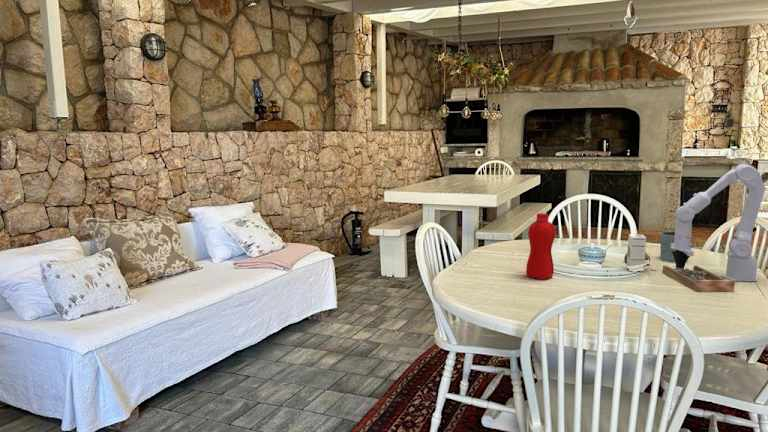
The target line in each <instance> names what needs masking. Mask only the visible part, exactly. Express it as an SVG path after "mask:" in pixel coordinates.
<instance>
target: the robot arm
mask: <svg viewBox="0 0 768 432" xmlns="http://www.w3.org/2000/svg"><path fill="white" fill-rule="evenodd" d="M739 181H740V182H742V183H743V184H744V186H745V187H746V188H747V190H748V192H747V196H746V200H745V203H744V207H743V210H742V212H741V216H740V220H739V222H738V226H737V230H736V231H735V233H734V235H733V237H732V238H731V239H730V240H729V242H728V247H729V250H730V252H729V253H727V261H726V271H725V273H721V274H720V277H722V278H723V277H724V279H726V280H734V281H735V282H757V281H758V280H757V272H758V260H757V259H756V257H754V256H751V255H750V254H751V253H752V245H751V244H752V238H753V237H752V235H753V230H754V228H755V224H756V220H757V218H758V215H759V211H760V207H761V204H762V201H763V197H764V196H765V195H764V194H765V191H766V186H765V183H764V181H763V178H762V176H761V173H760V172H759V170H758V169H757V168H755V166H753V165H751V164H748V163H739V164H738V165H736V166H735V167H734V168H731V169H730V170H728V171H727V172H725V174H724V175H723V176H721V177H720V178H719V179H718V180H717V181H716V182H714V183H713V184H712V185H711V186H709V188H708V189H707V190H705V191H699V192H698V193H697V192H695V193H693V194H692V196H693V197H691V198H690V199H689V200H688V201H687V202H684V203H683V205H681V206H679V207H678V208H677V210H676V212H675V214H676V221H675V222H676V223H675V229H674V231H675V239H674V243H671V244H670V248H671V249H675V250H676V251H672V254H673V256H674V259H675V262H674V263H675V268H684V269H685V266H686V264H687V262H688V259H689V258H690V257H695V256H694V254H695V251H694V250H693V249H692V248H691V244H692V243H691V240H692V230H693V223H692V222H693V219H694V218H695V215H696V214H699V213H700V212H702V211H703V209H705V208H706V207H707V206H709V205H710V204H711V202H712V198H713V197H714V196H716V195H717V194H719V193H720V192H721V191H722V190H724V189H725V188H726V187H728V186H729V185H733V184H739Z"/></svg>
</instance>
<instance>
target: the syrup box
mask: <svg viewBox="0 0 768 432" xmlns="http://www.w3.org/2000/svg"><path fill="white" fill-rule="evenodd" d="M627 240H628V243H627V252H628V253H627V252H626V253H627V263H626V267H627V266H635V265H640V264H644V263H645V252H646V244H647V243H646V242H647V237H646V236H645V235H644V234H643V233H642V234H639V233H630V234H628V239H627ZM644 272H645V270H644V271H643V272H642V273H644Z"/></svg>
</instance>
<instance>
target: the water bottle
mask: <svg viewBox="0 0 768 432" xmlns="http://www.w3.org/2000/svg"><path fill="white" fill-rule="evenodd" d="M549 217H550V216H549V214H548V213H544V212H543V213H541V212H539V213H536V221H534V222H532V223H531V224H530V225H529V228H528V232H527V236H528V241H529V246H530V248H529V249H530V250H529V251H530V252H529V255H528V258H527V261H526V262H527V263H526V268H525V269H526V270H525V274H526V275H527V276H528V278H531V279H535V280H536V279H537V280H541V281H543V280H548V279H550V278H553V276H554V273H555V272H554V261H553V254H552V247H553V244H554V242H555V241H554V240H555V237H556V228H555V226H554V224H553V223H552V222H550V221H549Z"/></svg>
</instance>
